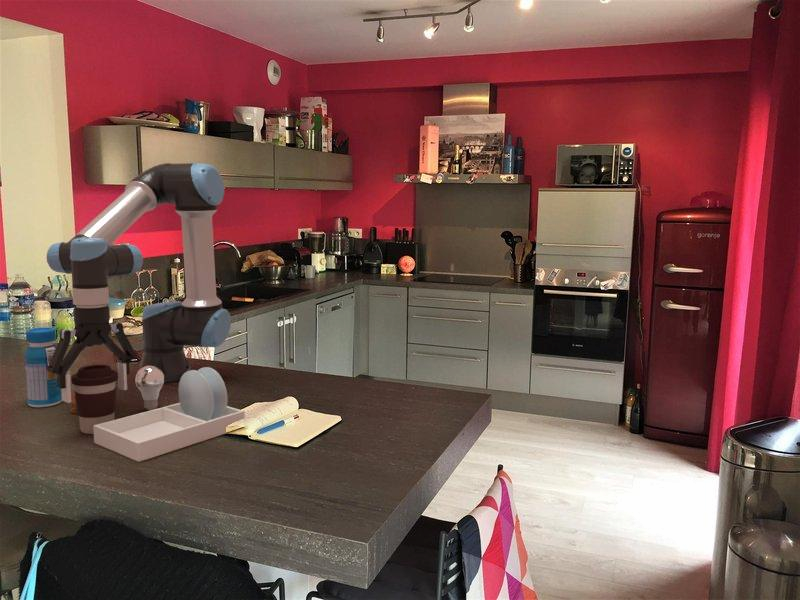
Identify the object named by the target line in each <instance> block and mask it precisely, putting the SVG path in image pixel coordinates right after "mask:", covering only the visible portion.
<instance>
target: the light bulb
mask: <svg viewBox="0 0 800 600" xmlns="http://www.w3.org/2000/svg"><path fill="white" fill-rule="evenodd" d="M134 382H135V386H136V387H137V388H138V390H139V391H140V393H141V397H142V399H143V400H144V401H143V407H144V409H146V410H147V411H150V410H154V409H158V403H159V401H158V398H159V397H160V391H161V390H162V388H163V385H164V383H165V382H164V374H163V372H162V371H161V370H160V369H159V368H158V367H156V366H152V365H149V366H145V367H143V368H141V369H140V370H139V369H138V371H137V372H136V375H135V381H134Z"/></svg>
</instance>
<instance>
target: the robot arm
mask: <svg viewBox="0 0 800 600" xmlns="http://www.w3.org/2000/svg"><path fill="white" fill-rule="evenodd" d="M224 196H225V184H224V180H223V177H222V175H221V173H220V172H219V171H218V169H217V168H216V167H215V166H213V165H212V164H208V163H201V162H196V163H193V162H191V163H186V162H185V163H183V162H182V163H170V162H169V163H167V162H166V163H160V164H157V165H154V166H152V167H150V168H148V169H146V170H144V171H142V172H141V173H140V174H138V175H137V176H135V177H134V178H133V179H132V180H131V181H129V182H128V183H127V184H126V185H125V187H124V192H122V193H121V194H120V195H119V196H118V197H117V198H116V199H114V201H112V202H111V203H110V204H109V205H108V206H107V207H106V208H105V209H103V211H101V212H100V213H99V214H98V215H97V216H95V217H94V218H93V220H91V221H90V222H89V223H88V224H87V225H85V226H84V228H82V229H81V230H80V231H79V232H77V234H75V236H73V237H72V238H70V240H69V241H67V242H64V241H63V242H62V241H61V242H55V243H53V244H51V245H50V246H49V247H48V249H47V252H46V263H47V265H48V266H49V268H50V269H51V270H52V271H53V272H56V273H62V274H67V275H70V274H71V281H72V285H71V289H72V291H71V292H72V304H73V305H74V307H73V310H72V312H73V323H74V326H73V327H74V328H73V329H65V328H61V329H60V331H59V339H58V343H57V345H56V349H55V352H54V354H53V356H52V359H51V361H50V363H49V366H48V368H47V371H48V372H51V373H54V374H57V386H58V388H61V390H62V401H61V402H65V403H67V404H71V403H70V402H71V395H72V390H71V389H72V388H71V387H72V386H71V374H70V373H68V371H69V370H70V368H71V367H72V365H73V364H74V363H75V361H76V360H77V358H78V357H79V355H80V354H81V352H82V351H83V350H85V348H86V347H94V346H101V345H104V346H105V347H106V348H107V349H109V351H110V352H112V354H113V355H114V356H115V357H117V359H118V360H120V361H117V362H116V367H117V369H116V370H117V371H116V372H118V380H117V389H119V390H122V391H127V390H128V380H127V379H128V378H127V377H128V376H129V374H130V364H131V363H132V362H133V360H135V359H136V358H137V357H138V355H137V354H136V351H135V350H134V348H133V346H132V344H131V342H130V341H129V339H128V337H127V335H126V333H125V330H124V325H123V323H121V322H118V321H117V322H116V321H114V322H112V323H111V324H110V320H111V317H110V316H111V313H110V306H109V305H108V304H110V296H109V294H110V293H109V291H110V290H109V278H111V277H112V278H113V277H119V276H120V277H121V276H130V275H132V274H136V273H137V272H139V271H140V270H141V269H142V267H143V263H144V257H143V256H144V255H143V253H142V251H141V250H140V248H138V247H137V245H133V244H130V243H129V244H128V243H121V244H114V243H115V242H116V241H117V240H118V239H119V238H120V237H122V235H124V233H125V232H126V231H127V230H128V229H129V228H130V227H131V226H132V225H133V224H134V223H135V222H136V221H137V220H138V219H140V218H141V217H142V215H144V214H145V213H146V212H150V211H154V209H155V208H156V207H158V206H161V205H169V204H170V205H174V211H175V213H176V214H178V215H179V216H180V220H181V233H182V251H183V264H184V265H183V266H184V279H185V280H184V283H185V295H186V296H185V297H186V298H184V300H183V301H181V300H176V301H175V300H173V301H164V302H158V303H157V302H156V303H152V304H148V305H146V306H144V307H143V309H142V315H141V316H142V318H141V322H142V345H143V355H142V358H141V361H140V364H139V369H138V371H139V370H140V369H141V368H143V367H145V366H149V365H152V366H156V367H158V368H159V369H160V370H161V371H162V372H163V374H164V383H170V382H171V383H172V382H177V381H180V379H181V377H182V375H183V374H184V373H185V372H187V371H190V370H191V366H190V364H189V362H188V359H187V356H186V353H185V348H184V347H185V346H187V347H188V346H189V347H201V348H204V349H205V348H206V349H207V348H218V347H220V346H221V345H222V344H224V342H226V340H227V338H228V336H229V334H230V331H231V323H232V318H231V317H232V316H231V315H230V312H229V311H228V309H226V308H223V302H222V300H221V299H220V298H219V297H218V296H217V285H216V266H215V251H214V250H215V248H214V228H213V227H214V226H213V215H215V213H216V212H218V208H217V207H218V205H220V204H221V203H222V201H223V200H224ZM111 332H113V333H114V336H115V337H116V339H117V341H118V342H119V345H120V346H121V348H122V349H121V348H120V347H119V345H117V343H115V342H114V340H113V339H112V338H111V337H110V336H109V335H110V333H111ZM74 337H75V340H74V341H73V343H72V345H71V347H70V349H69V350H68V348H69V346H70V342H71V340H72V339H73V338H74Z"/></svg>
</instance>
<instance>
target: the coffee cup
mask: <svg viewBox="0 0 800 600" xmlns="http://www.w3.org/2000/svg"><path fill="white" fill-rule="evenodd" d="M116 381H117V382H118V372H117V371H116V370H113V369H112V368H111V366H110V365H106V364H91V365H84V366H81V367H80V368H79V369H78V370H77V372H76V373H74V374H72V375H70V383H71V384H72V385H74V389H75V390H74V392H73V394H74V393H75V400H76V408H77V413H76V414H77V416H78V422H79V428H80V432H81V433H83V434H87V435H94V428H93V426H94V425H97V424H101V423H105V422H109V421H113V420H115V412H116V408H117V402H116V401H117V387H116Z"/></svg>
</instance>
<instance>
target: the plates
mask: <svg viewBox="0 0 800 600" xmlns="http://www.w3.org/2000/svg"><path fill="white" fill-rule="evenodd" d="M177 388H178V389H177V392H178V393H177V394H178V401H179V403H180V405H181V408H182V410H183V412H184V414H186V415H189V416H192V417H195V418H198V419H201V420H204V421H208V420H209V419H211V420H213V419H216V418H219V417H222V416H223V414H224V413H225V411H226V407H227V406H228V390H227V387H226V383H225V381H224V380H223V378H222V376H221V374H220V373H219V372H218V371H217V370H216V369H214V368H213V367H210V366H205V367H201V368H199V369H198V370H197V369H190V371H187V372H185V373H184V374H183V375H182V377H181V379H180V380H179V382H178V387H177Z"/></svg>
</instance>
